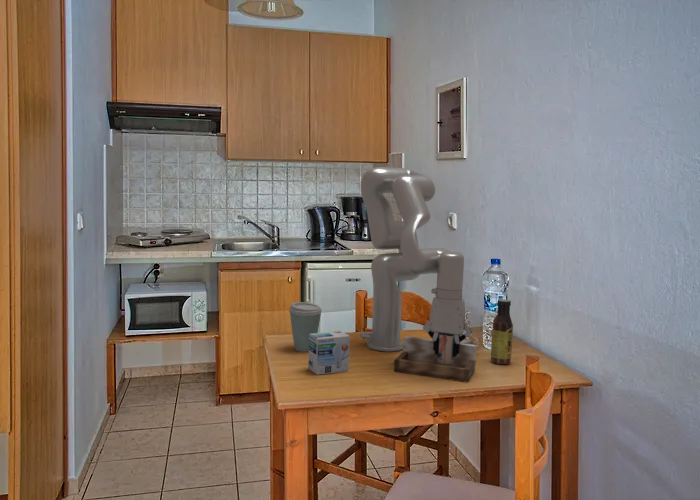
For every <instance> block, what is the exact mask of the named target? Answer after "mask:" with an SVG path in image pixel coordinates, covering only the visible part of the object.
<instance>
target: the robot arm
mask: <svg viewBox="0 0 700 500" xmlns="http://www.w3.org/2000/svg"><path fill="white" fill-rule="evenodd" d="M360 193H361V198H362V200H363V203H364V205H365V209H366V214H367V221H368V227H369V235H370V239H371V243H372V246H373V247H374V248H376V249H377V250H382V251H383V250H385V251H387V250H388V251H389V250H397V251H398V252H385V253H381V254H378V255H377V256H375V257H374V258H373V259H372V261H371V266H370V270H371V271H370V272H371V277H372V284H373V285H372V287H373V288H372V289H373V293H372V294H373V295H372V320H371V321H372V323H371V324H372V325H371V326H372V327H371V331H369V332H368V331H360V338H361V339H367V342H366V347H367V348H369V349H371V350H373V351H379V352H399V351H401V350H402V351H403V345H404V341H401V328H402V327H401V324H402V323H401V322H402V321H401V320H402V306H403V305H402V301H403V300H402V299H403V296H402V295H403V294H402V291H401V289H400V287H399V285H398V283H397V282H403V281H405V282H406V281H412V280H416V279H417V278H419V276H420V275H428V274H437V276H436V287H434V288H432V289H431V294H433V295H435V296H434V297H433V298H432V301H431V307H430V314H429V320H428V321H427V322H426V323H425V325H424V326H423V327H422V329H423V331H425V332H426V333H427V334H428V336H429V337H430V338H431V340H433V341H434V344H433V351H435V354H436V355H437V354H438V338H439V333H448V334H454V338H455V343H454V345H453V356H454V357H456V356H457V354H459V348H460V342H461V341H463V340H464V339H465V338H466V339H468V338H469V337H470V336H471V335H473V330H471V328H470V327H469V325H468V324H467V322H466V320H467V319H466V303H465V299H464V298H463V287H464V286H463V285H464V271H465V270H464V267H465V266H464V265H465V256H464V255H463V253H461V252H457V251H450V250H448V249H446V248H443V247H442V248H441V247H436V248H435V247H433V248H432V247H431V248H420V247H419V241H418V235H417V232H416V231H417V230H418V229H421V228H422V227H423V226H425V225H426V224H427V223H428V222H430V220H431V213H430V211H429V208H428V205H427V203H426V202H430V201H431V200H433V198H434V196H435V193H436V187H435V184H434V182H433V180H432V179H431V178H430V177H429V176H428V175H426V174H423V173H420V172H417V171H415V170H414V169H410V168H407V167H390V166H385V167H384V166H382V167H381V166H379V167H378V166H377V167H373V168H369V169H367V170H366V171H365V172H364V173H363V175H362V177H361V180H360ZM384 194H392V195H393V198H394V200H395V203H396V205H397V208H398V211H399V213H400V216H401V219H402V220H395V217H394V213H393V207H392V206H391V203H390V202H389V200H388V199H387V198H386V197H385V195H384ZM464 331H465V332H464ZM462 333H463V335H461V336H460V334H462Z"/></svg>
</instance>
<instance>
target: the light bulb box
mask: <svg viewBox="0 0 700 500" xmlns="http://www.w3.org/2000/svg"><path fill="white" fill-rule="evenodd" d="M350 339H351V337H350V335H349V334H347V333H345V332H344V331H342V330H334V331H323V332H318V333H311V334H309V352H308V360H307V361H308V364H307V365H308V366H307V369H308V370H310V371H311V372H312V373H314V374H315V375H316V376H318V375H328V374H334V373H335V374H337V373H343V372H349V363H350V341H351V340H350Z"/></svg>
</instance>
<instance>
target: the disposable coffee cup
mask: <svg viewBox="0 0 700 500" xmlns="http://www.w3.org/2000/svg"><path fill="white" fill-rule="evenodd" d="M288 312H289V315H290V316H289V317H290V326H291V332H292V340H293V347H294V348H295V351H298V352H303V353H307V352H308V353H309V334H311V333H319V326H320V321H321V315H322V313H323V311H322V308H321V307H320V306H319V305H318V304H316V303H312V302H306V301H305V302H304V301H303V302H302V301H296V302H295V301H294V302H292V303H291V304H290V307H289V310H288Z"/></svg>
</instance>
